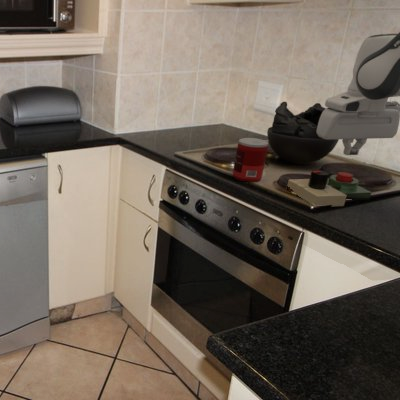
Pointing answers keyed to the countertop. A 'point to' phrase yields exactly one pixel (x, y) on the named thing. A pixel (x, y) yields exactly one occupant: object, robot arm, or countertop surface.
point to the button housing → (349, 188)
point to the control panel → (317, 193)
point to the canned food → (250, 159)
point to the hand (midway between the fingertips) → (350, 154)
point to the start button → (344, 176)
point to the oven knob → (318, 179)
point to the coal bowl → (298, 135)
